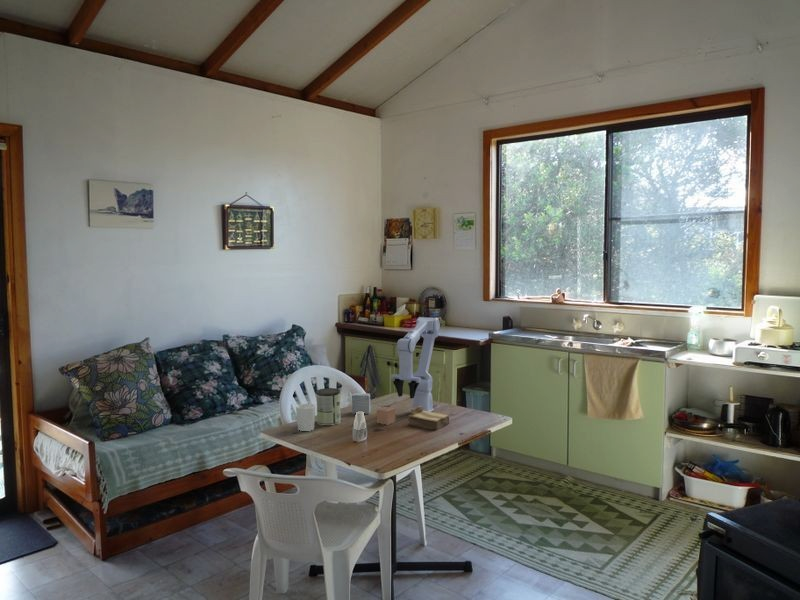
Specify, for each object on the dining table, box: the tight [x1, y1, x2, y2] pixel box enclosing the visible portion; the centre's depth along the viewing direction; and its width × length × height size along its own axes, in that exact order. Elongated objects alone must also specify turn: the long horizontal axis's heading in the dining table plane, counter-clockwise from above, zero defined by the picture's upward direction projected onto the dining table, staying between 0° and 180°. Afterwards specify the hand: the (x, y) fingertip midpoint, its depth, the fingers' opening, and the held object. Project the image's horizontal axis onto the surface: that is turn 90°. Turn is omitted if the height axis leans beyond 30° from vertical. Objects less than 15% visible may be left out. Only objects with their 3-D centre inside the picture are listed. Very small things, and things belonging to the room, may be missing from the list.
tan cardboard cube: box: [376, 406, 396, 426], centre depth 266 cm, size 6×6×6 cm
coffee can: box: [315, 387, 342, 426], centre depth 267 cm, size 10×10×14 cm
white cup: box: [295, 403, 316, 432], centre depth 257 cm, size 8×8×10 cm
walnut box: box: [408, 416, 450, 431], centre depth 263 cm, size 10×14×3 cm
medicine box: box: [351, 392, 372, 415], centre depth 282 cm, size 8×4×9 cm, turn 84°
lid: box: [408, 406, 450, 422], centre depth 262 cm, size 10×14×3 cm
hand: (406, 397), depth 268 cm, fingers open, 6 cm apart
